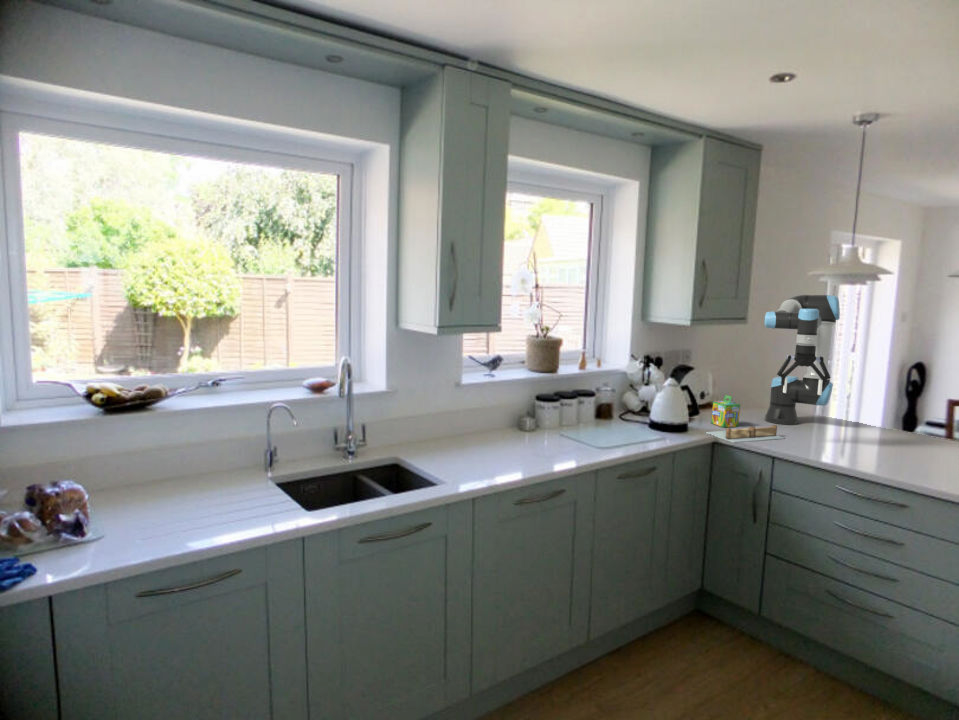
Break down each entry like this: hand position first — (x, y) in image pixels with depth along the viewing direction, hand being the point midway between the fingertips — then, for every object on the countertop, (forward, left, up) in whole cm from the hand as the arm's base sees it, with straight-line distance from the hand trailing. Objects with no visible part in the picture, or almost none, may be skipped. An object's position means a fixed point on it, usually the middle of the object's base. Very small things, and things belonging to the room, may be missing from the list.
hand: (801, 393), depth 252 cm
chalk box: (-37, -7, -22) cm, 44 cm away
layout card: (-17, -13, -22) cm, 31 cm away
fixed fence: (-13, -7, -22) cm, 26 cm away
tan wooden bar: (-13, -21, -21) cm, 33 cm away
